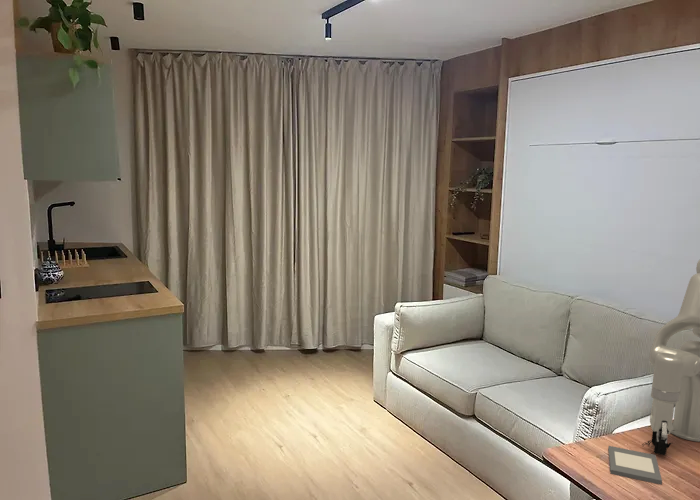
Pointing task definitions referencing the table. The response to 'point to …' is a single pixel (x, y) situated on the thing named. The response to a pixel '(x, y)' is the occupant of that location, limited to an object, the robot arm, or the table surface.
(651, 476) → the grey picture mat
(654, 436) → the creature
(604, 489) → the table surface
